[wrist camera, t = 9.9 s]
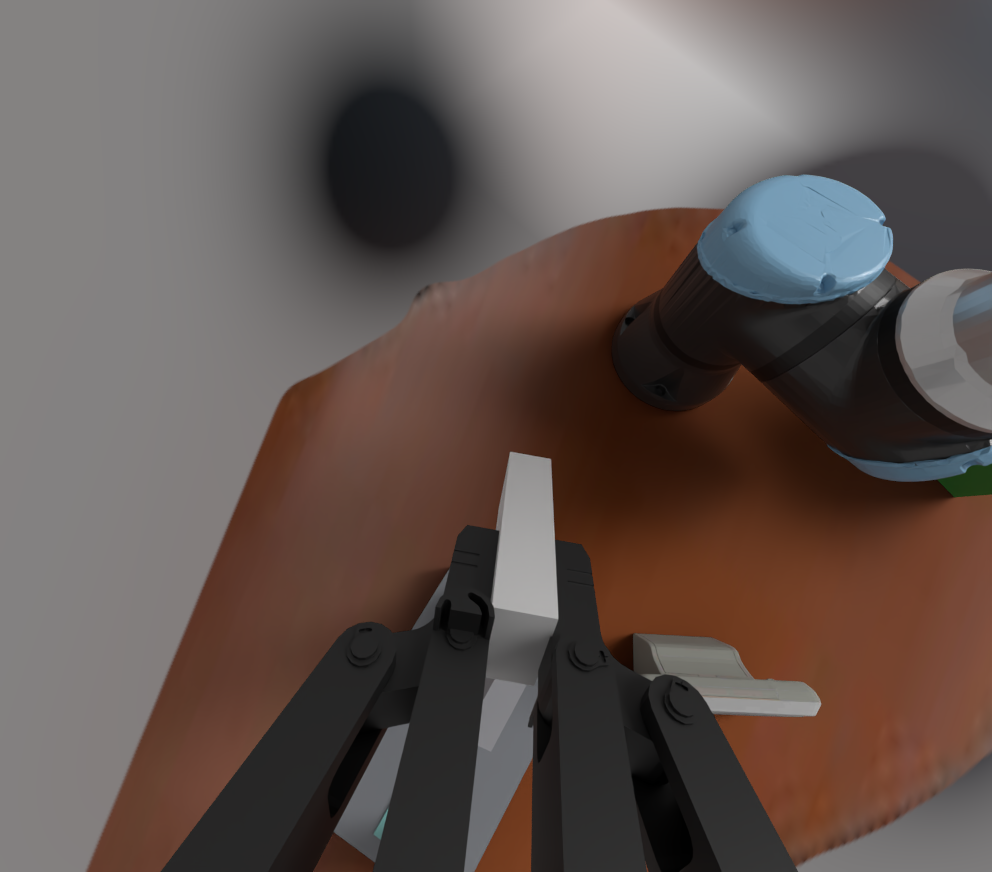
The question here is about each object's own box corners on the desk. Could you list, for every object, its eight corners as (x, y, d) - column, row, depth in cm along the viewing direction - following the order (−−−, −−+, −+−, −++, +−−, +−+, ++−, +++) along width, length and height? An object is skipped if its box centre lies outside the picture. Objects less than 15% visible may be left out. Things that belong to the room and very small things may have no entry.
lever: (468, 597, 42) (532, 673, 28) (438, 646, 40) (490, 751, 27) (449, 586, 41) (506, 658, 27) (418, 636, 40) (461, 738, 26)
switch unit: (576, 649, 43) (584, 658, 40) (452, 889, 38) (449, 921, 35) (450, 566, 45) (448, 569, 42) (313, 787, 39) (299, 809, 36)
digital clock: (592, 698, 43) (630, 751, 32) (609, 608, 45) (649, 631, 34) (743, 740, 42) (830, 807, 32) (753, 648, 44) (837, 683, 34)
